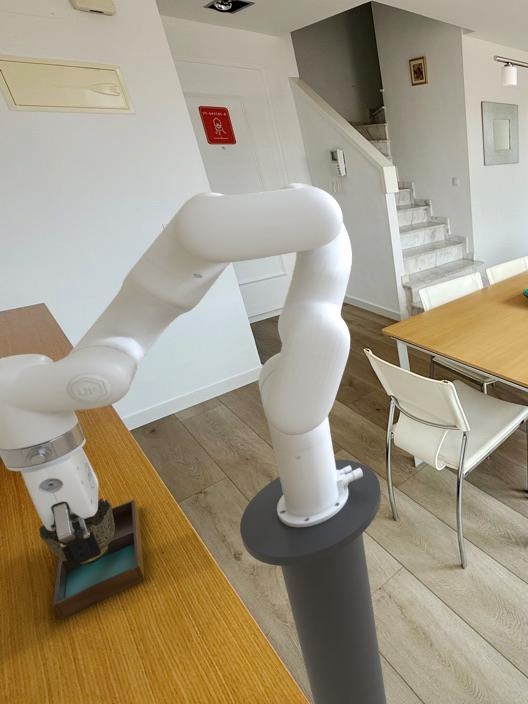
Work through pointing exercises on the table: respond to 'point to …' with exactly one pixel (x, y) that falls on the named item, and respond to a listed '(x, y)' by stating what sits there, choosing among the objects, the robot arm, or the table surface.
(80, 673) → the table surface
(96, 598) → the tray
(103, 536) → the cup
